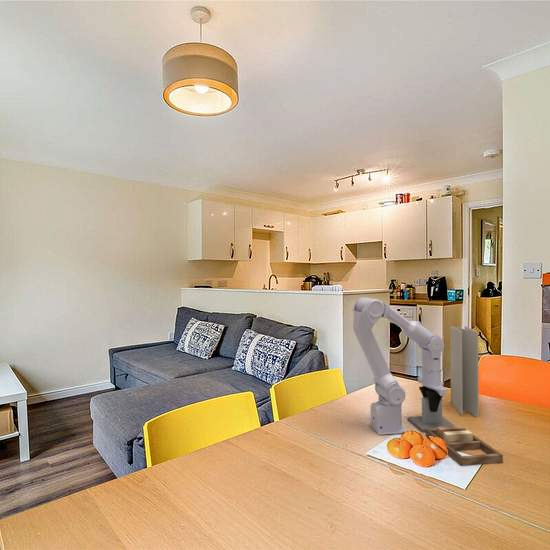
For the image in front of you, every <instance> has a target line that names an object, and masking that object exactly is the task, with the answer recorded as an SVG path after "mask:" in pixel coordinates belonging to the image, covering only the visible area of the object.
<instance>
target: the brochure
mask: <svg viewBox="0 0 550 550" xmlns="http://www.w3.org/2000/svg"><path fill="white" fill-rule="evenodd" d="M449 330H450V331H449V336H450V337H449V340H450V343H449V344H450V349H449V350H450V352H449V353H450V354H449V355H450V362H449V363H450V403H451V402H452V403H451V404H452V406H453V405H454V406H455V407H454V406H453V407H454V408H455V410H456V409H457V410H458V411H457V410H456V411H457V412H458V414H459V415H460V414H461V415H460V416H461V417H464V415H463V413H464V411H465V412H467V411H468V412H467V413H469V412H470V413H469V414H471V413H472V414H471V415H473V416H475V417H476V418H480V417H479V416H480V414H479V413H480V410H479V407H480V406H479V403H480V402H479V401H480V399H479V388H480V387H479V332H478V331H476V330H475V329H472V328H470V327H468V326H466V325H465V326H464V328H462V327H459V326H458V327H456V326H452V325H450V326H449ZM464 409H465V410H464ZM463 410H464V411H463Z"/></svg>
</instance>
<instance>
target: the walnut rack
mask: <svg viewBox="0 0 550 550" xmlns="http://www.w3.org/2000/svg"><path fill="white" fill-rule="evenodd" d="M466 430H467V429H465V431H466ZM425 436H426V437H427V438H428V437H429V436H433V437H438V436H437V428H435V429H426V432H425ZM446 445H447V449H448V454H447V455H448V456H449V457H450V458H452V459H453V461H454V462H456V463H457V464H458V465H460V466H461V467H463V466H474V465H476V466H478V465H488V464H499V463H504V454H502V453H500V452H499V451H498V450H496V449H494V448H493V447H492V446H490V445H488V444H487V443H485V442H484V441H483V440H482V439H480V438H479V437H477V436H476V435H474V434H473V441H471V442H456V443H446ZM474 450H481V451H482V452H484V453H485V454H475V455H473V454H472V455H471V454H470V455H462V454H460V453H458V452H459V451H460V452H461V451H474Z"/></svg>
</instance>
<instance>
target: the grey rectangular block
mask: <svg viewBox="0 0 550 550" xmlns="http://www.w3.org/2000/svg"><path fill="white" fill-rule="evenodd" d="M442 398H443V397H442ZM442 398H441V400H440V403H439V406H438V410H437V412H431V411H430V408H429V400H428V397H425V398H423V397H421V416H422V422H424V423H425V424H429V423H442V417H443V399H442Z"/></svg>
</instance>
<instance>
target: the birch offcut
mask: <svg viewBox="0 0 550 550" xmlns="http://www.w3.org/2000/svg"><path fill="white" fill-rule="evenodd" d="M465 430H466V431H451V432H443V440H444V441H445V442H446V443H456V442H471V441H473V435H474V433H473V432H472V431H470V430H468V429H465Z"/></svg>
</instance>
